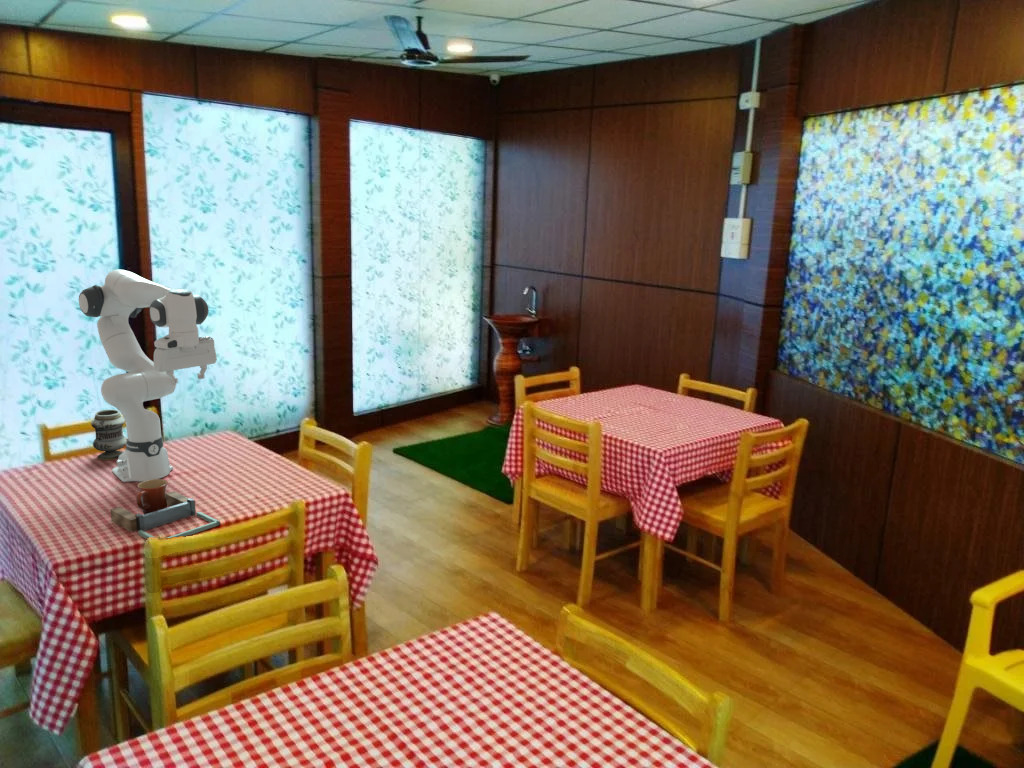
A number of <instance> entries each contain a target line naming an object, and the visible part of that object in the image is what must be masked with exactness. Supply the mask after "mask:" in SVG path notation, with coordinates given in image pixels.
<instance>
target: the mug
mask: <svg viewBox="0 0 1024 768" xmlns="http://www.w3.org/2000/svg"><path fill="white" fill-rule="evenodd" d="M167 486H168V481H167V480H165V479H163V478H159V479H152V480H147V481H140V482H139V483H138V484H137V488H138V491H139V492H138V493H137V494H136V498H135V501H136V502H135V503H136V505H137V507H138V508H139V509H140V510H142V511H141V512H142V515H145V514H148V513H151V512H154V511H158V510H161V509H164V508H168V506H167V499H166V493H167V491H166V489H167Z"/></svg>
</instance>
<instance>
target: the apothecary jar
mask: <svg viewBox="0 0 1024 768" xmlns="http://www.w3.org/2000/svg"><path fill="white" fill-rule="evenodd" d="M124 424H126V423H125V419H124V417H123V415H122V414H121V412H120V411H119V410H118V409H103V410H98V411H96V412H95V413H94V418H92V420H91V422H90V425H91V427H92V428H93V429H94V431H95V439H94V440H93V442H92V447H93V448H94V449H95V450H97V451H101V453H100V454H98V455H97V459H98V460H102V461H113V460H116V459H117V460H118V458H119V456H120V455H121V454H122V453H123V452H124V451H120V450H121V449H123V448H124V447H126V443H127V442H126V441H127V440H126V439H128V437H126V436H125V435H124V433H123V426H124Z"/></svg>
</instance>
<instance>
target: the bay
mask: <svg viewBox="0 0 1024 768" xmlns="http://www.w3.org/2000/svg"><path fill="white" fill-rule="evenodd" d="M195 515H196V517H197V518H200V519H202V518H203V519H202V520H204V521H207V522H209V523H207V524H203V525H200V526H198V527H194V528H191V529H189V530H186V531H183V532H179V533H176V534H174V535H173V534H172V535H170V536H167V537H166V538H172V537H179V536H186V537H188V536H187V535H189V536H191V535H194V534H198V533H200V532H203V531H207V530H208V529H211V528H214V527H218V526H220V525H221V521H220V520H219V519H217V518H215V517H212V516H210V515H207V514H205V513H203V512H201V511H196V512H195ZM137 533H138V535H139V536H140V537H142V538H145V539H146V538H149V537H155V535H152V534H150V533H148V532H146V531H143V530H139V531H137Z"/></svg>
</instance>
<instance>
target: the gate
mask: <svg viewBox="0 0 1024 768" xmlns="http://www.w3.org/2000/svg"><path fill="white" fill-rule="evenodd" d="M188 498H189V499H187V502H184V503H181V504H177V505H174V506H171V507H170V506H167V508H164V509H161V510H158V511H154V512H151V513H148V514H145V515H144V514H141V513H137V514H135V515H136V525H137V531H136V532H138V531H139V530H143V531H144V532H146V531H147V530H151V529H154V528H158V527H160V526H163V525H167V524H169V523H172V522H176V521H179V520H181V519H185V518H187V517H188V518H189V517H191V516H195V515H196V512H195V508H196V503H195V504H194V500H195V499H194V498H191V497H188Z"/></svg>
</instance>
